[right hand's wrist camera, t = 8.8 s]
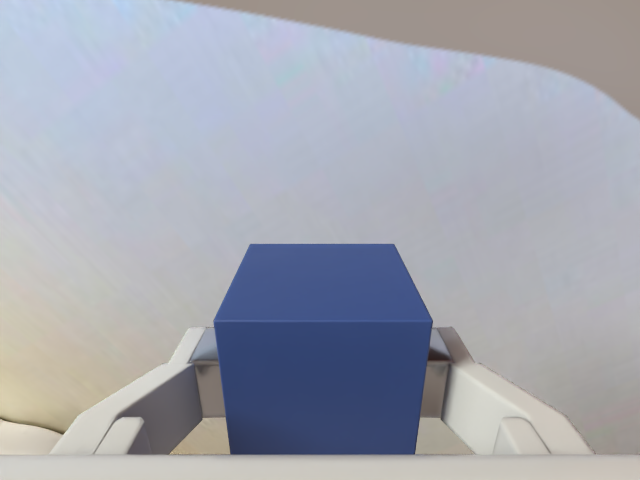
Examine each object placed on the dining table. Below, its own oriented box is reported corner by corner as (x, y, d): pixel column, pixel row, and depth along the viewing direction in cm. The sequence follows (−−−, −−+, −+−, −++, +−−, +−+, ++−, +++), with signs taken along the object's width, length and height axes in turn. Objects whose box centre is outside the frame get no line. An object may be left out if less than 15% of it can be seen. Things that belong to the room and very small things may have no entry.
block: (384, 365, 13) (412, 480, 9) (259, 365, 13) (233, 480, 9) (394, 243, 12) (433, 320, 8) (249, 243, 12) (212, 320, 8)
